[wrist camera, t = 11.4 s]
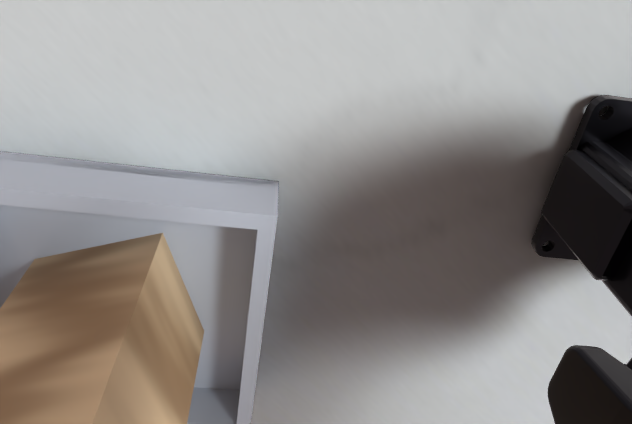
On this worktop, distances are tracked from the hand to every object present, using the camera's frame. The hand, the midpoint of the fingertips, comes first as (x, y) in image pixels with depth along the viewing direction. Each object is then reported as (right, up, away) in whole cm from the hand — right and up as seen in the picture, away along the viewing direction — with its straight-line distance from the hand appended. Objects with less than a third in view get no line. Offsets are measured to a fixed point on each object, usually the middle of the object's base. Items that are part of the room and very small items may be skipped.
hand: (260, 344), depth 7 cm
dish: (-7, -1, +14) cm, 16 cm away
